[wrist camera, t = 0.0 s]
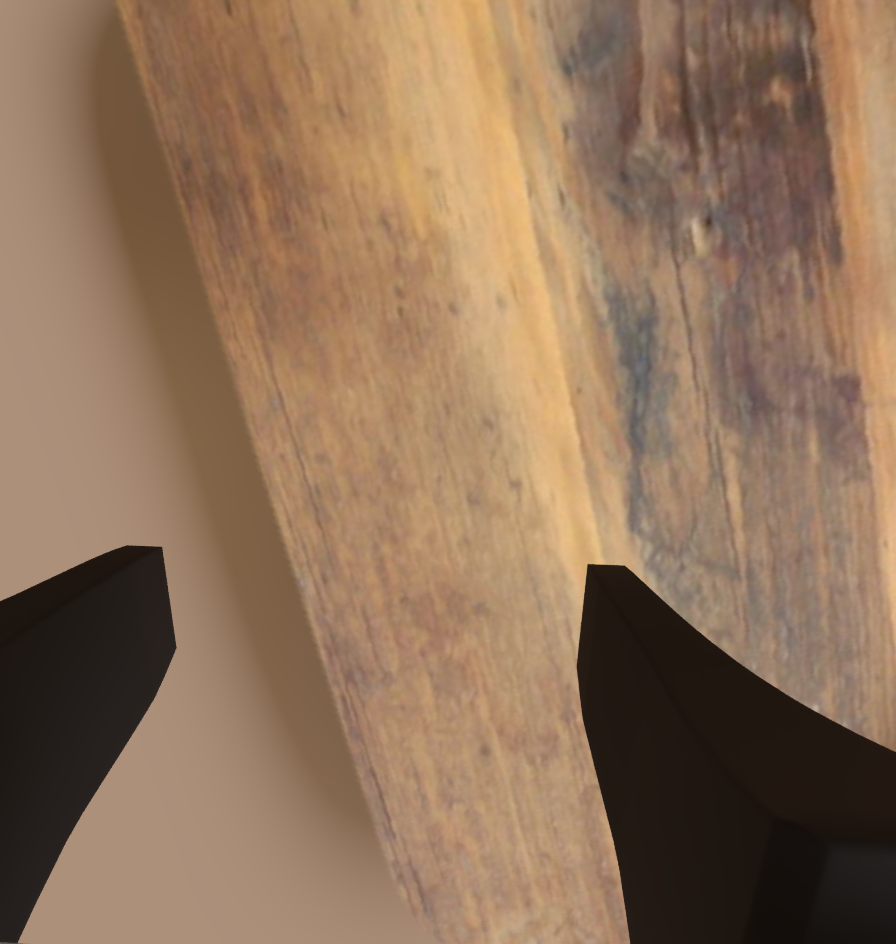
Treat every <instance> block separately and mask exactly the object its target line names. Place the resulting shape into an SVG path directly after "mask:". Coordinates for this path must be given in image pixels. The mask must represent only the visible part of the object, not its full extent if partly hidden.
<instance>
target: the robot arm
mask: <svg viewBox="0 0 896 944" xmlns="http://www.w3.org/2000/svg"><path fill="white" fill-rule="evenodd" d="M175 650H176V642H175V634H174V627H173V620H172V613H171V606H170V599H169V592H168V586H167V578H166V571H165V564H164V557H163V550H162V547H153V546H151V547H150V546H128V545H127V546H124V547H121V548H118V549H115V550H112V551H110V552H107V553H105V554H102V555H100V556H98V557H95V558H93V559H91V560H89V561H86V562H84V563H82V564H80V565H78V566H75V567H73V568H71V569H69V570H67V571H65V572H63V573H61V574H59V575H56V576H54V577H52V578H50V579H48V580H46V581H43V582H41V583H39V584H37V585H35V586H33V587H31V588H29V589H27V590H24V591H22V592H20V593H18V594H16V595H14V596H11V597H9V598H7V599H4V600H2V601H0V944H19V943H18V941H19V938H20V936H21V934H22V932H23V930H24V928H25V925H26V923H27V921H28V919H29V917H30V914H31V912H32V910H33V908H34V906H35V904H36V902H37V899H38V898H39V896H40V894H41V892H42V890H43V888H44V885H45V884H46V881H47V880H48V878H49V876H50V874H51V871H52V869H53V867H54V865H55V863H56V861H57V859H58V857H59V855H60V853H61V851H62V849H63V847H64V845H65V843H66V841H67V839H68V838H69V836H70V834H71V833H72V831H73V829H74V827H75V825H76V824H77V822H78V820H79V819H80V817H81V815H82V813H83V812H84V810H85V808H86V807H87V805H88V804H89V802H90V801H91V799H92V797H93V796H94V794H95V793H96V791H97V790H98V788H99V786H100V785H101V783H102V781H103V780H104V778H105V777H106V775H107V774H108V772H109V771H110V769H111V767H112V766H113V764H114V763H115V761H116V760H117V758H118V756H119V755H120V753H121V752H122V750H123V748H124V747H125V745H126V744H127V742H128V741H129V739H130V737H131V736H132V734H133V733H134V731H135V729H136V728H137V726H138V725H139V723H140V721H141V720H142V718H143V716H144V715H145V713H146V711H147V710H148V708H149V707H150V705H151V703H152V701H153V700H154V698H155V696H156V693H157V692H158V689H159V687H160V685H161V683H162V681H163V679H164V677H165V674H166V672H167V669H168V667H169V665H170V662H171V660H172V657H173V655H174V653H175ZM577 673H578V683H579V692H580V700H581V708H582V716H583V722H584V726H585V730H586V734H587V738H588V742H589V746H590V750H591V754H592V758H593V762H594V766H595V770H596V774H597V778H598V782H599V786H600V790H601V794H602V798H603V801H604V805H605V809H606V813H607V817H608V821H609V825H610V829H611V833H612V837H613V841H614V846H615V850H616V855H617V860H618V865H619V870H620V876H621V883H622V890H623V896H624V903H625V910H626V917H627V923H628V930H629V937H630V944H896V752H894V751H892V750H890V749H888V748H886V747H884V746H881V745H879V744H877V743H875V742H873V741H871V740H869V739H867V738H865V737H863V736H861V735H859V734H857V733H855V732H853V731H851V730H849V729H847V728H845V727H843V726H841V725H840V724H838V723H836V722H834V721H832V720H830V719H828V718H826V717H825V716H823V715H821V714H819V713H817V712H815V711H813V710H812V709H810V708H808V707H806V706H805V705H803V704H801V703H800V702H798V701H796V700H794V699H793V698H791V697H789V696H788V695H786V694H785V693H783V692H782V691H780V690H779V689H777V688H775V687H774V686H772V685H771V684H769V683H768V682H766V681H765V680H763V679H761V678H760V677H758V676H757V675H755V674H754V673H752V672H751V671H749V670H748V669H747V668H745V667H744V666H742V665H741V664H740V663H738V662H737V661H735V660H734V659H733V658H732V657H730V656H729V655H728V654H726V653H725V652H724V651H722V650H721V649H720V648H718V647H717V646H716V645H715V644H713V643H712V642H711V641H709V640H708V639H707V638H706V637H704V636H703V635H702V634H701V633H700V632H698V631H697V630H696V629H695V628H694V627H692V626H691V625H690V624H689V623H688V622H687V621H685V620H684V619H683V618H682V617H681V616H680V615H679V614H677V613H676V612H675V611H674V610H673V609H672V608H671V607H670V606H668V605H667V604H666V603H665V602H664V601H663V600H662V599H661V598H660V597H659V596H658V595H656V594H655V593H654V592H653V591H652V590H651V589H650V588H649V587H648V586H647V585H646V584H645V583H644V582H642V581H641V580H640V579H639V578H638V577H637V576H636V575H635V574H634V573H633V572H632V571H630V570H629V569H628V568H627V567H626V566H620V565H595V564H588V566H587V575H586V585H585V594H584V603H583V613H582V622H581V631H580V640H579V650H578V659H577ZM20 944H21V943H20Z"/></svg>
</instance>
